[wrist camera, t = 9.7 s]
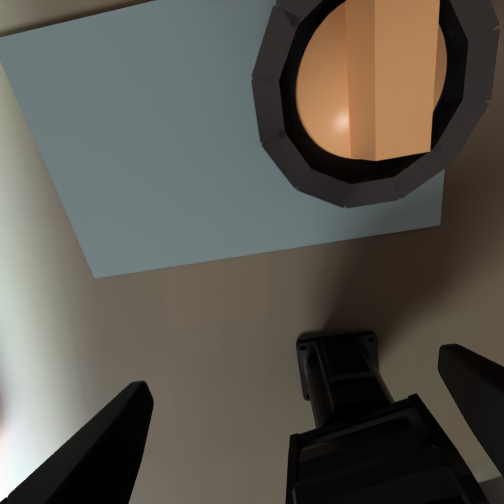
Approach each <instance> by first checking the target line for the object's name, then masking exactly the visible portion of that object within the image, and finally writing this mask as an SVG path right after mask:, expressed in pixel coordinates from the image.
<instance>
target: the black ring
mask: <svg viewBox="0 0 504 504" xmlns="http://www.w3.org/2000/svg"><path fill="white" fill-rule="evenodd" d="M345 1H346V0H276V5H275V6H274V5H273V8H272V11H271V15H270V18H269V21H268V24H267V27H266V31H265V34H264V37H263V40H262V43H261V47H260V50H259V53H258V56H257V59H256V63H255V66H254V69H253V72H252V80H251V84H252V93H253V100H254V107H255V114H256V120H257V127H258V133H259V140H260V143H263V142H265V143H264V144H263V145H262V148H263V149H264V150H265V152H266V153H267V154H268V156H269V157H270V158H271V159H272V161H273V162H274V163H275V165H276V166H277V167H278V169H279V170H280V171H281V173H282V174H283V175H284V176H285V178H286V179H287V180H288V181H289V183H290V184H291V185H292V186H293V187H294V188H295V189H296V190H297V191H299V192H302V193H305V194H307V195H310V196H313V197H315V198H318V199H320V200H323V201H326V202H328V203H331V204H333V205H336V206H339V207H341V208H344V207H345V208H347V209H348V208H354V207H360V206H366V205H372V204H378V203H385V202H391V201H397V200H399V198H401V199H402V198H404V197H405V196H407V195H408V194H410V193H411V192H412V191H414V190H415V189H417V188H418V187H419V186H421V185H422V184H424V183H425V182H427V181H428V180H429V179H431V178H432V177H434V176H435V175H436V174H438V173H439V172H441V171H442V170H444V169H445V168H446V167H448V166H449V165H451V164H450V162H449V161H454V160H455V158H456V157H457V155H458V153H459V152H460V150H461V149H462V147H463V145H464V144H465V142H466V140H467V139H468V137H469V136H470V134H471V132H472V131H473V129H474V127H475V126H476V124H477V123H478V121H479V119H480V118H481V116H482V114H483V113H484V111H485V110H486V108H487V106H488V105H489V104H488V103H486V102H483V101H485V100H490V99H491V92H492V85H493V77H494V69H495V62H496V54H497V47H498V39H499V31H500V29H496V30H492V29H493V28H495V27H496V26H497V25H498V24H499V22H498V19H497V17H496V15H495V12H494V10H493V7H492V5H491V2H490V0H440V5H439V21H438V23H439V25H440V28H441V31H442V33H443V36H444V40H445V45H446V53H447V68H446V76H445V81H444V85H443V89H442V92H441V95H440V98H439V101H438V103H437V105H436V107H435V109H434V111H433V115H432V131H431V146H430V152H424V153H418V154H413V155H407V156H401V157H396V158H390V159H384V160H378V161H372V160H365V159H351V158H344V157H339V156H335V155H332V154H329V153H327V152H325V151H323V150H322V149H320V148H319V147H317V146H316V145H315V144H314V143H313V142H312V141H311V140H310V139H309V138H308V136H307V135H306V134H305V132H304V130H303V129H302V127H301V124H300V122H299V120H298V117H297V113H296V109H295V103H294V85H295V78H296V73H297V70H298V66H299V63H300V61H301V58H302V56H303V54H304V52H305V50H306V48H307V46H308V43H309V42H310V40H311V38H312V36H313V34H314V33H315V31H316V30H317V28H318V27H319V26H320V24H321V23H322V22H323V21H324V19H325V18H326V17H327V16H328V15H329V14H330V13H331V12H332V11H333V10H335V9H336V8H337V7H338V6H339V5H341V4H342V3H344V2H345Z"/></svg>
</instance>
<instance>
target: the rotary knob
mask: <svg viewBox="0 0 504 504" xmlns="http://www.w3.org/2000/svg"><path fill="white" fill-rule="evenodd" d="M439 5H440V0H346V1H345V2H344V3H342V4H341V5H339V6H338V7H337V8H336V9H335V10H333V11H332V12H331V13H330V14H329V15H328V16H327V17H326V18H325V19H324V21H323V22H322V23H321V24H320V26H319V27H318V28H317V30H316V31H315V33H314V34H313V36H312V38H311V40H310V42H309V43H308V46H307V48H306V50H305V52H304V54H303V56H302V58H301V61H300V63H299V66H298V70H297V73H296V78H295V85H294V103H295V109H296V113H297V117H298V120H299V122H300V124H301V127H302V129H303V130H304V132H305V134H306V135H307V136H308V138H309V139H310V140H311V141H312V142H313V143H314V144H315V145H316V146H317V147H319V148H320V149H322V150H323V151H325V152H327V153H329V154H332V155H335V156H339V157H344V158H351V159H365V160H372V161H378V160H384V159H390V158H396V157H401V156H407V155H413V154H418V153H424V152H430V146H431V131H432V115H433V111H434V109H435V107H436V105H437V103H438V101H439V98H440V95H441V92H442V89H443V85H444V81H445V76H446V68H447V53H446V45H445V40H444V36H443V33H442V31H441V28H440V25H439V23H438V21H439Z"/></svg>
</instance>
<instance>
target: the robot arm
mask: <svg viewBox="0 0 504 504" xmlns="http://www.w3.org/2000/svg"><path fill="white" fill-rule="evenodd" d="M370 337H372V338H370ZM368 338H370V339H368ZM302 345H304V347H300V346H302ZM296 349H297V356H298V363H299V370H300V377H301V384H302V391H303V397H304V399H305V400H307V401H311V406H312V411H313V415H314V420H315V425H316V429H313V430H310V431H307V432H304V433H301V434H298V433H296V434H293V435H290V445H289V453H288V470H287V487H286V504H489V502H488V500H487V498H486V496H485V495H484V493H483V491H482V489H481V487H480V486H479V484H478V482H477V481H476V479H475V477H474V476H473V474H472V472H471V471H470V469H469V468H468V466H467V464H466V463H465V461H464V460H463V458H462V456H461V455H460V453H459V452H458V450H457V449H456V447H455V446H454V445H453V443H452V442H451V440H450V439H449V438H448V436H447V435H446V433H445V432H444V431H443V429H442V428H441V426H440V425H439V424H438V422H437V421H436V420H435V418H434V417H433V415H432V414H431V413H430V411H429V410H428V408H427V407H426V406H425V404H424V403H423V402H422V400H421V399H420V397H419V396H418V395H417V393H416V394H413V395H410V396H408V397H409V398H406V399H403V400H400V401H397V402H394V400H393V398H392V396H391V394H390V392H389V390H388V388H387V387H386V385H385V383H384V381H383V379H382V377H381V375H380V373H379V372H378V338H377V336H376V334H375V333H374V332H372V331H367V332H359V333H351V334H343V335H335V336H327V337H319V338H311V339H303V340H299V341H298V342H297V343H296ZM438 371H439V374H440V376H441V378H442V379H443V381H444V383H445V385H446V387H447V388H448V390H449V392H450V394H451V395H452V397H453V399H454V401H455V403H456V404H457V406H458V408H459V410H460V411H461V413H462V415H463V417H464V419H465V420H466V422H467V424H468V425H469V427H470V429H471V430H472V432H473V433H474V435H475V436H476V438H477V440H478V441H479V442H480V444H481V445H482V447H483V448H484V450H485V451H486V453H487V454H488V456H489V457H490V458H491V460H492V461H493V463H494V464H495V466H496V467H497V469H498V470H499V472H500V473H501V475H502V476H503V477H504V367H503V366H501V365H499V364H497V363H495V362H493V361H491V360H489V359H487V358H485V357H483V356H481V355H479V354H477V353H475V352H473V351H471V350H469V349H467V348H465V347H463V346H461V345H458V344H447V345H442V346H441V347H440V349H439V359H438ZM153 405H154V401H153V397H152V395H151V392H150V390H149V388H148V385H147V383H146V382H145V381H136V382H132V383H130V384H129V385H128V386H127V387H126V388H124V389H123V390H122V391H121V392H120V393H119V394H118V395H117V396H116V397H115V398H114V399H112V400H111V401H110V402H109V403H108V404H107V405H106V406H105V407H104V408H103V409H102V410H100V411H99V412H98V413H97V414H96V415H95V416H94V417H93V418H92V419H91V420H90V421H88V422H87V423H86V424H85V425H84V426H83V427H82V428H81V429H80V430H79V431H78V432H76V433H75V434H74V435H73V436H72V437H71V438H70V439H69V440H68V441H67V442H66V443H64V444H63V445H62V446H61V447H60V448H59V449H58V450H57V451H56V452H55V453H54V454H52V455H51V456H50V457H49V458H48V459H47V460H46V461H45V462H44V463H43V464H42V465H40V466H39V467H38V468H37V469H36V470H35V471H34V472H33V473H32V474H31V475H29V476H28V477H27V478H26V479H25V480H24V481H23V482H22V483H21V484H20V485H19V486H17V487H16V488H15V489H14V490H13V491H12V492H11V493H10V494H9V495H8V498H7V497H6V498H4V499H3V500H2V501H1V502H0V504H128V503H129V500H130V497H131V494H132V490H133V487H134V484H135V481H136V477H137V474H138V471H139V468H140V464H141V461H142V457H143V453H144V448H145V443H146V439H147V434H148V429H149V425H150V420H151V416H152V411H153Z"/></svg>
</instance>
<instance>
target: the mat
mask: <svg viewBox="0 0 504 504" xmlns="http://www.w3.org/2000/svg"><path fill="white" fill-rule="evenodd" d="M273 5H274V6H275V5H276V0H155V1H151V2H147V3H142V4H138V5H134V6H130V7H126V8H122V9H117V10H113V11H109V12H105V13H101V14H96V15H92V16H88V17H84V18H80V19H76V20H71V21H67V22H63V23H59V24H55V25H50V26H46V27H42V28H38V29H34V30H29V31H25V32H21V33H17V34H13V35H9V36H4V37H0V61H1V63H2V65H3V68H4V70H5V72H6V74H7V77H8V79H9V81H10V84H11V86H12V88H13V91H14V93H15V95H16V98H17V100H18V102H19V105H20V107H21V109H22V112H23V114H24V116H25V118H26V121H27V123H28V125H29V128H30V130H31V132H32V135H33V137H34V139H35V142H36V144H37V146H38V149H39V151H40V153H41V155H42V158H43V160H44V162H45V165H46V167H47V169H48V172H49V174H50V176H51V179H52V181H53V183H54V186H55V188H56V190H57V193H58V195H59V197H60V199H61V202H62V204H63V206H64V209H65V211H66V213H67V216H68V218H69V220H70V223H71V225H72V227H73V230H74V232H75V234H76V237H77V239H78V241H79V243H80V246H81V248H82V250H83V253H84V255H85V257H86V260H87V262H88V264H89V267H90V269H91V271H92V274H93V276H94V278H100V277H107V276H113V275H120V274H127V273H133V272H140V271H146V270H153V269H159V268H166V267H172V266H179V265H185V264H192V263H198V262H205V261H211V260H218V259H224V258H231V257H237V256H244V255H250V254H257V253H264V252H270V251H277V250H283V249H290V248H296V247H303V246H309V245H316V244H322V243H329V242H335V241H342V240H348V239H355V238H361V237H368V236H374V235H381V234H388V233H394V232H401V231H407V230H414V229H420V228H427V227H433V226H440V221H441V209H442V197H443V185H444V173H445V169H444V170H442V171H441V172H439V173H438V174H436V175H435V176H434V177H432V178H431V179H429V180H428V181H427V182H425V183H424V184H422V185H421V186H419V187H418V188H417V189H415V190H414V191H412V192H411V193H410V194H408V195H407V196H405V197H404V198H402V199H401V198H399V200H397V201H391V202H385V203H378V204H372V205H366V206H360V207H354V208H348V209H347V208H345V207H344V208H341V207H339V206H336V205H333V204H331V203H328V202H326V201H323V200H320V199H318V198H315V197H313V196H310V195H307V194H305V193H302V192H299V191H297V190H296V189H295V188H294V187H293V186H292V185H291V184H290V183H289V181H288V180H287V179H286V178H285V176H284V175H283V174H282V173H281V171H280V170H279V169H278V167H277V166H276V165H275V163H274V162H273V161H272V159H271V158H270V157H269V156H268V154H267V153H266V152H265V150H264V149H263V148H262V145H263V144H264V143H265V142H263V143H260V140H259V133H258V127H257V120H256V114H255V107H254V100H253V93H252V84H251V80H252V72H253V69H254V66H255V63H256V59H257V56H258V53H259V50H260V47H261V43H262V40H263V37H264V34H265V31H266V27H267V24H268V21H269V18H270V15H271V11H272V8H273Z"/></svg>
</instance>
